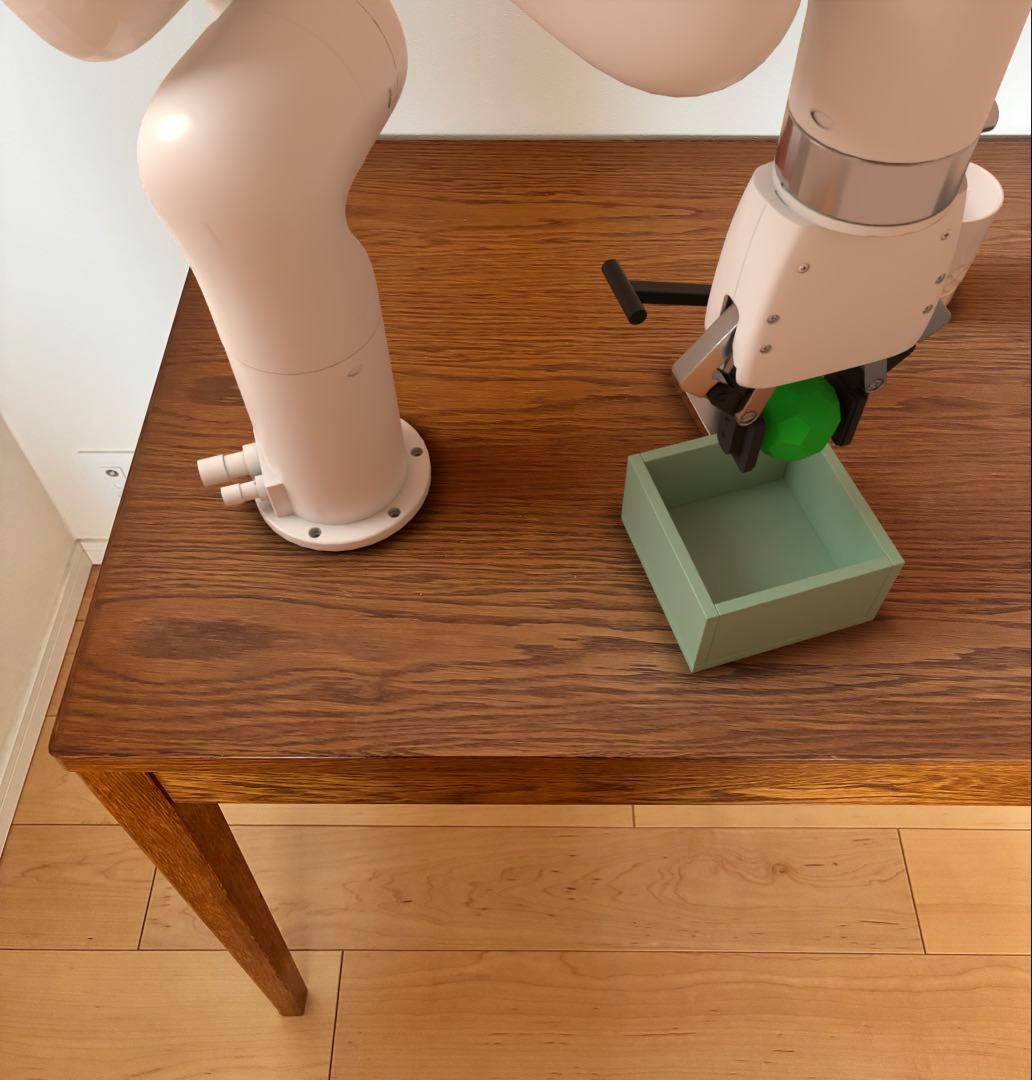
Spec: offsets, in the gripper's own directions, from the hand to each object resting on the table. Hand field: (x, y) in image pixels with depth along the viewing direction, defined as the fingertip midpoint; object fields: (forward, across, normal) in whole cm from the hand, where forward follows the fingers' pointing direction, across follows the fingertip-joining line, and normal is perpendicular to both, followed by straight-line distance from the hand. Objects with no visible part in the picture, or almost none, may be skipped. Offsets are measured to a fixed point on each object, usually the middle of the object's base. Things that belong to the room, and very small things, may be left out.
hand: (784, 438), depth 55 cm
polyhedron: (+1, 0, 0) cm, 1 cm away
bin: (+13, 0, 0) cm, 13 cm away
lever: (+3, -1, -14) cm, 14 cm away
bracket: (+13, -7, -14) cm, 20 cm away
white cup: (+14, -24, -21) cm, 34 cm away
